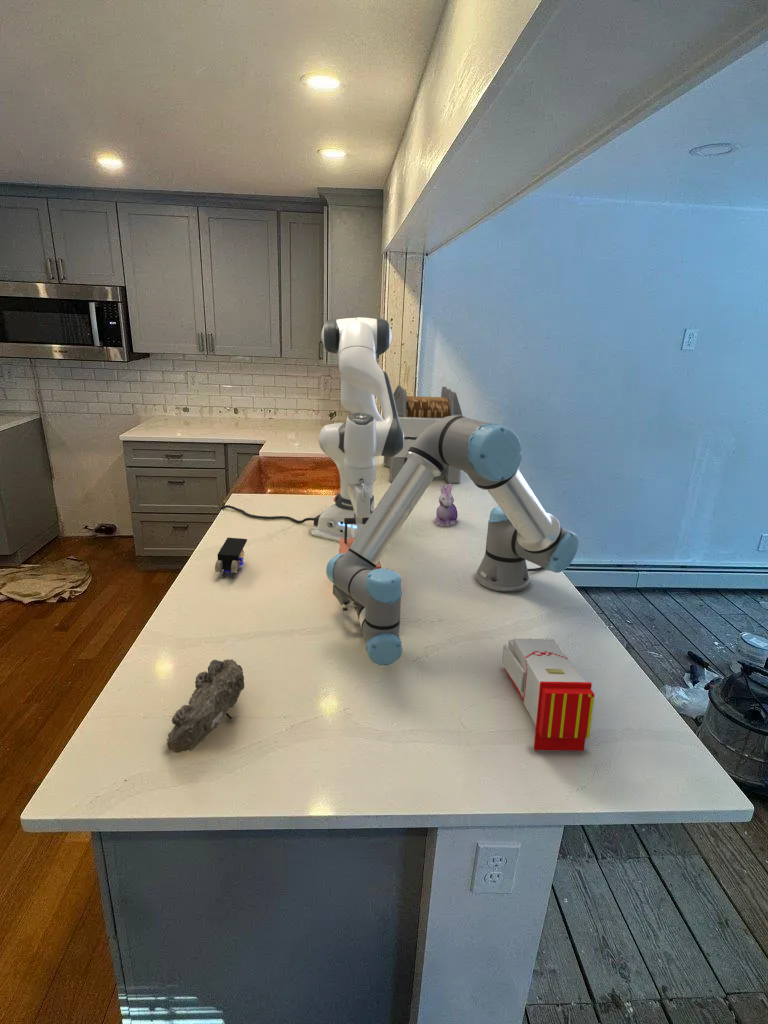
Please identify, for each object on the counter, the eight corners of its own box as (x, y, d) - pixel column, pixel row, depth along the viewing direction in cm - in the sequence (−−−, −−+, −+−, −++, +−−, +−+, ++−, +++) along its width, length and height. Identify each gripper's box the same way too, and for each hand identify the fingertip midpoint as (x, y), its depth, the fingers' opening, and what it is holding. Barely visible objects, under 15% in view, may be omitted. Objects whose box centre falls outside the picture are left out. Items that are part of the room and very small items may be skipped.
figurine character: (238, 584, 162) (249, 557, 175) (236, 562, 158) (247, 536, 172) (215, 584, 161) (227, 556, 175) (212, 561, 158) (225, 535, 171)
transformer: (382, 463, 289) (386, 382, 275) (445, 464, 293) (451, 384, 279) (390, 482, 257) (394, 392, 243) (460, 483, 261) (468, 394, 247)
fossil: (192, 660, 117) (244, 628, 112) (224, 691, 120) (276, 661, 115) (142, 746, 98) (202, 712, 93) (182, 779, 101) (242, 748, 96)
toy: (549, 621, 128) (604, 690, 99) (544, 676, 131) (595, 758, 101) (496, 620, 128) (535, 688, 98) (492, 675, 130) (528, 757, 101)
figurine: (442, 528, 206) (446, 489, 201) (428, 519, 214) (431, 481, 209) (464, 525, 210) (468, 486, 205) (449, 516, 218) (452, 479, 213)
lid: (339, 541, 165) (339, 514, 161) (371, 540, 166) (373, 513, 163) (345, 571, 149) (346, 541, 146) (381, 569, 151) (383, 540, 147)
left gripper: (376, 485, 146) (374, 535, 151) (365, 463, 165) (363, 508, 169) (352, 486, 145) (351, 535, 150) (343, 464, 163) (342, 508, 168)
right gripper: (327, 633, 132) (320, 588, 153) (419, 627, 136) (400, 585, 157) (327, 604, 130) (320, 563, 151) (421, 600, 134) (402, 560, 155)
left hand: (357, 521), depth 160 cm, fingers closed on lid, 2 cm apart
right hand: (361, 574), depth 154 cm, fingers closed on chest, 10 cm apart
